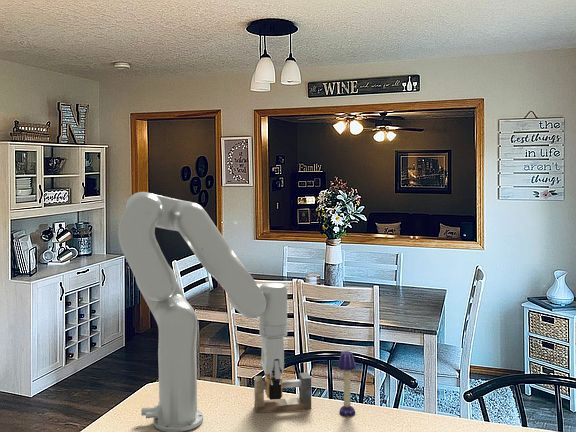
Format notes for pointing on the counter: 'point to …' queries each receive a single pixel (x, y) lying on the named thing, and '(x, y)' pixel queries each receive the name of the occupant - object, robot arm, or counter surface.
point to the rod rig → (286, 403)
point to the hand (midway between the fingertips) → (273, 394)
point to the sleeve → (267, 379)
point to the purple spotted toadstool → (346, 381)
